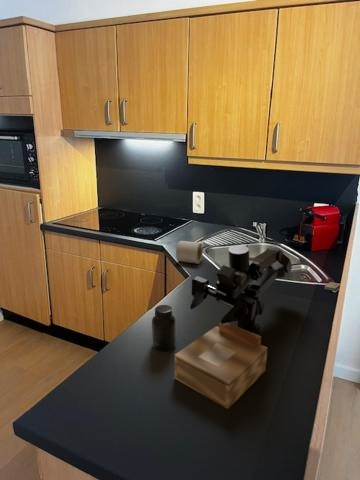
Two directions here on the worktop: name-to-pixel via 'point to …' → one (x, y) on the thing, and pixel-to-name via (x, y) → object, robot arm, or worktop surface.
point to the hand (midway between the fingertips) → (205, 314)
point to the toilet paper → (189, 252)
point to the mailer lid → (223, 352)
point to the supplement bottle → (163, 328)
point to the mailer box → (215, 387)
